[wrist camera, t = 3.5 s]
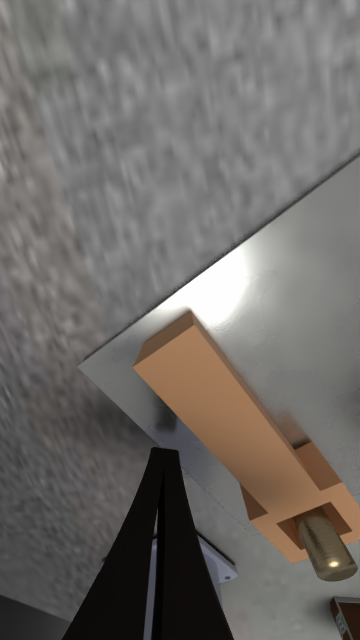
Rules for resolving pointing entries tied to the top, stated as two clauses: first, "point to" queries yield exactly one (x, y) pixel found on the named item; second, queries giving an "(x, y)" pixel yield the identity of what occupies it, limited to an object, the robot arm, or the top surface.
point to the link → (245, 437)
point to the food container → (347, 617)
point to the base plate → (270, 350)
